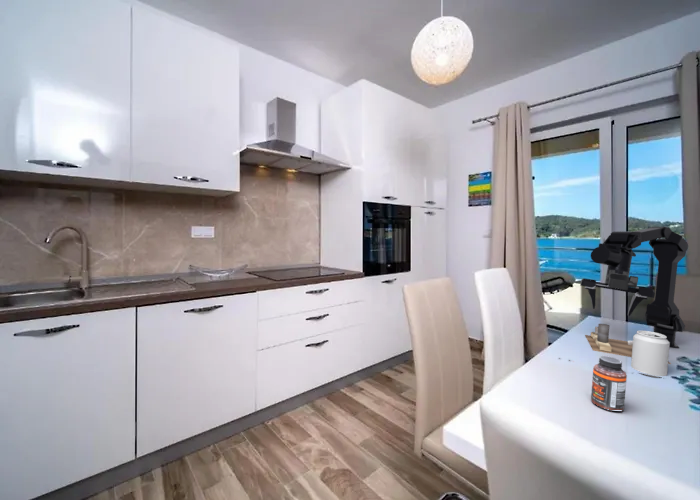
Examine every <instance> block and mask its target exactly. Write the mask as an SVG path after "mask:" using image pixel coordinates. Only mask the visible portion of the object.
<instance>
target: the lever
mask: <svg viewBox="0 0 700 500" xmlns="http://www.w3.org/2000/svg"><path fill="white" fill-rule="evenodd" d="M590 336H591V337H592V338H593V339H594V341H595V342H596V344H597V346H598V348H599V349H600V350H604V351H610V352H611V349H612V347H611V346H610V344H609V343H608V339H610V338H609V337H610V325H608V324H607V323H598V324H597V326H595V328H594V331H591V332H590Z"/></svg>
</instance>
